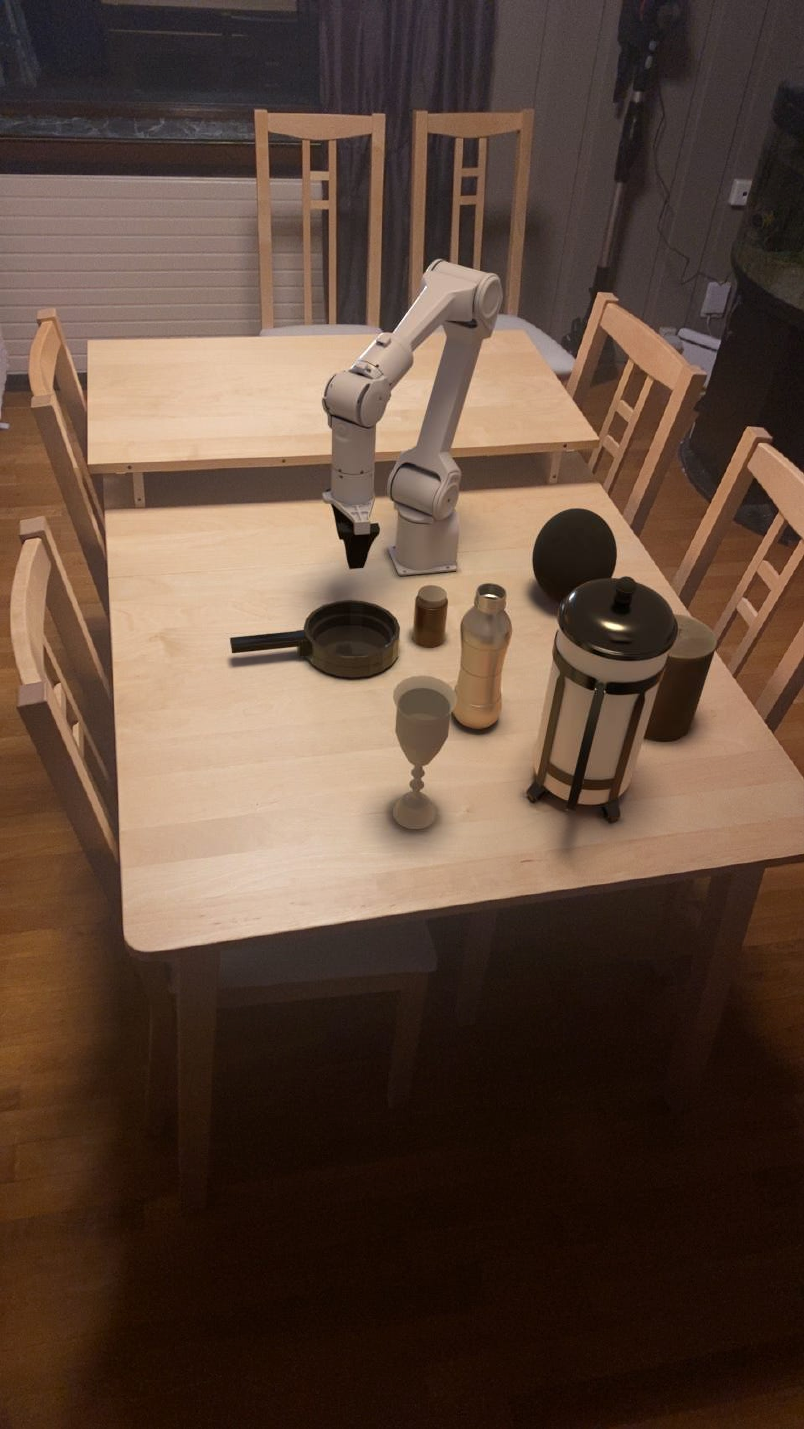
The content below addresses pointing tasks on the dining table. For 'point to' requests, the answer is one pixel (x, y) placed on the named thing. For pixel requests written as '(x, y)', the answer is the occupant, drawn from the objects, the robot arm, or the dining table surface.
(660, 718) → the pillar candle
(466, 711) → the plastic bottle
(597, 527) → the decorative egg
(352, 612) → the skillet
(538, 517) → the dining table surface
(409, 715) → the chalice
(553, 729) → the coffee press
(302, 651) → the skillet handle
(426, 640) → the salt shaker
